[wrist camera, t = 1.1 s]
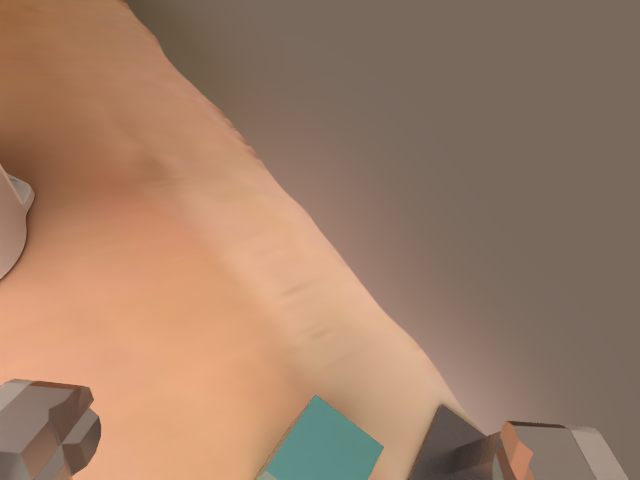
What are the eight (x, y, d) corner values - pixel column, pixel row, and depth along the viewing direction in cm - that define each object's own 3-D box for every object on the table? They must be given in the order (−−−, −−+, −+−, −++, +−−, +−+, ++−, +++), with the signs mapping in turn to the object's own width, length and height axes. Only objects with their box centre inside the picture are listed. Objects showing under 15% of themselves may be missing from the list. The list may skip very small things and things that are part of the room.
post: (405, 484, 36) (448, 471, 30) (439, 406, 41) (481, 381, 35) (487, 547, 35) (549, 547, 29) (512, 459, 39) (569, 443, 34)
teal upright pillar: (248, 488, 33) (265, 470, 25) (289, 426, 36) (315, 394, 29) (306, 536, 32) (341, 532, 25) (342, 468, 35) (383, 446, 28)
